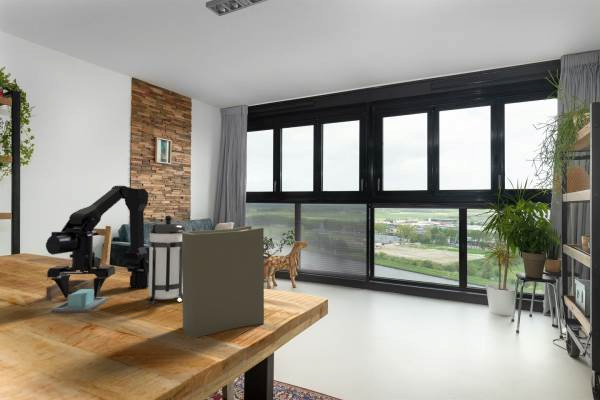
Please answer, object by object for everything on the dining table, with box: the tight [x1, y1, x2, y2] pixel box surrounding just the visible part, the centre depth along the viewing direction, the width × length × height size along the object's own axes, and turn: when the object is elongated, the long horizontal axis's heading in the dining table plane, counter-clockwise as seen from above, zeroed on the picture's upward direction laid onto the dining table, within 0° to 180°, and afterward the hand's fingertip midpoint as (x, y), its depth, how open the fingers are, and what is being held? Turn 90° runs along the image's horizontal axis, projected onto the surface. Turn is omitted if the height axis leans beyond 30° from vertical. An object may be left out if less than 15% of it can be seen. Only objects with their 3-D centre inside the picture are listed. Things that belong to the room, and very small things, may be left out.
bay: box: [45, 278, 94, 301], centre depth 125 cm, size 10×12×4 cm
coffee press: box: [148, 215, 188, 305], centre depth 122 cm, size 17×16×30 cm
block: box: [67, 289, 95, 308], centre depth 113 cm, size 4×4×8 cm
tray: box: [50, 296, 109, 313], centre depth 113 cm, size 11×13×1 cm
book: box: [182, 225, 265, 339], centre depth 98 cm, size 22×9×28 cm, turn 124°
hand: (81, 297), depth 113 cm, fingers open, 9 cm apart
